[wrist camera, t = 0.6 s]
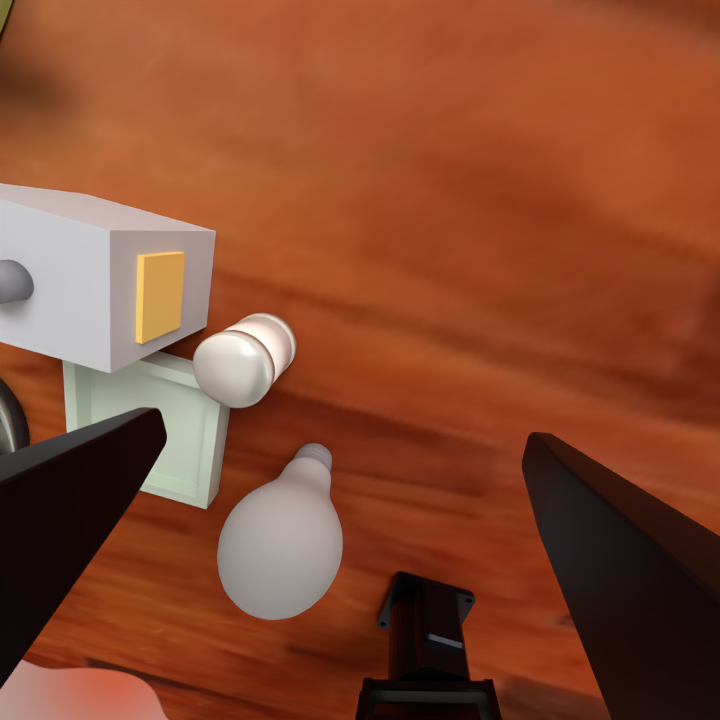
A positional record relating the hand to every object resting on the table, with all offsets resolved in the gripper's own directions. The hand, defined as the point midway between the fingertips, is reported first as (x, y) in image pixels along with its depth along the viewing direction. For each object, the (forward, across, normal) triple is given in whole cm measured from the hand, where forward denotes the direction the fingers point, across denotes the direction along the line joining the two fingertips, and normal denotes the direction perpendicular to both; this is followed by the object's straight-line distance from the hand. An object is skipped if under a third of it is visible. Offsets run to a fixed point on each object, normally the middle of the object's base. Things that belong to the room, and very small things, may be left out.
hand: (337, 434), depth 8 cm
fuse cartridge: (+13, +7, +3) cm, 15 cm away
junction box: (+14, +14, -2) cm, 20 cm away
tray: (+13, +16, +9) cm, 22 cm away
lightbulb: (+13, +4, +11) cm, 17 cm away
